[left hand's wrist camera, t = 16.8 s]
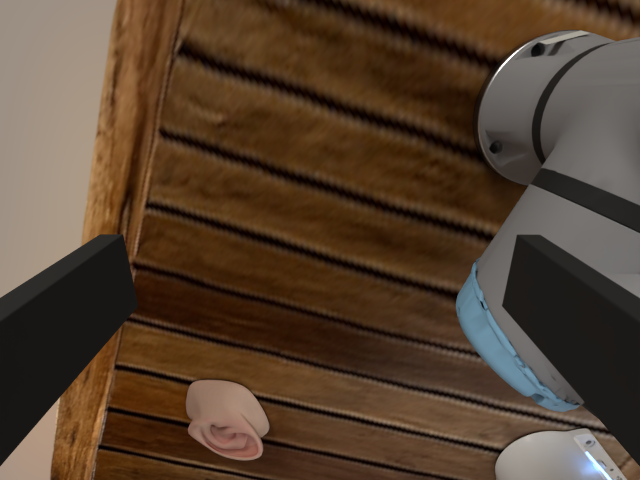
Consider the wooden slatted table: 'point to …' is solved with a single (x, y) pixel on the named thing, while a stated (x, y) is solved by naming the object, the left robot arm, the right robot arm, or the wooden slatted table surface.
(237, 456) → the anatomical model
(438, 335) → the wooden slatted table surface
